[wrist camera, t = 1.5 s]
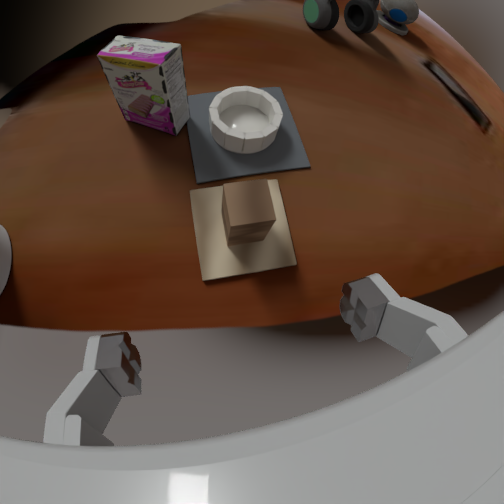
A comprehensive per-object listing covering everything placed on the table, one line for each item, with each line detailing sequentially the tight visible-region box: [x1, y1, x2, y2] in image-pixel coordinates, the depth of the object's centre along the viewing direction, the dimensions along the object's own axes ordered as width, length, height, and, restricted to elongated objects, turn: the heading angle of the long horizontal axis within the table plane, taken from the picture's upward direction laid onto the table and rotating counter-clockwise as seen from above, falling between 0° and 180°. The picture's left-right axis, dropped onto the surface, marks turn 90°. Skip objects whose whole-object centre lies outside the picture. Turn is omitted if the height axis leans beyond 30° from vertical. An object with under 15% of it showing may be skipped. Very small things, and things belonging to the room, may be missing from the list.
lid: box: [190, 179, 297, 281], centre depth 36 cm, size 13×13×10 cm
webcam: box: [377, 0, 419, 35], centre depth 56 cm, size 13×13×15 cm
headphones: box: [303, 0, 379, 33], centre depth 47 cm, size 19×11×20 cm, turn 109°
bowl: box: [209, 86, 283, 154], centre depth 42 cm, size 11×11×4 cm
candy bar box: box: [97, 36, 190, 136], centre depth 35 cm, size 11×5×16 cm, turn 67°
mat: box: [187, 87, 310, 184], centre depth 44 cm, size 18×18×1 cm
